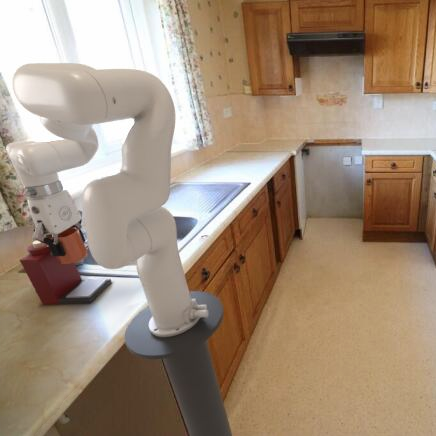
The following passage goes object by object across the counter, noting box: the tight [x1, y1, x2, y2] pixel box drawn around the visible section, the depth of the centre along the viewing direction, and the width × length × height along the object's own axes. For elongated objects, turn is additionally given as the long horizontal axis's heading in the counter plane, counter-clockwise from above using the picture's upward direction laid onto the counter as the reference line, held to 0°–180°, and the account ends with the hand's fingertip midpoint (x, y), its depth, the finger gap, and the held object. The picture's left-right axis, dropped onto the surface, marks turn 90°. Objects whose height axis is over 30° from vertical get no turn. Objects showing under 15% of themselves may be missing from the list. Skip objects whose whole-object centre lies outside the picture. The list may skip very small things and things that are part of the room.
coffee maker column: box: [19, 244, 83, 306], centre depth 94 cm, size 6×10×17 cm, turn 179°
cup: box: [50, 227, 89, 264], centre depth 90 cm, size 7×7×8 cm
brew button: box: [31, 240, 46, 248], centre depth 90 cm, size 3×3×2 cm
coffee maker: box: [50, 252, 113, 305], centre depth 94 cm, size 9×10×15 cm
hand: (69, 248), depth 91 cm, fingers closed on cup, 6 cm apart
